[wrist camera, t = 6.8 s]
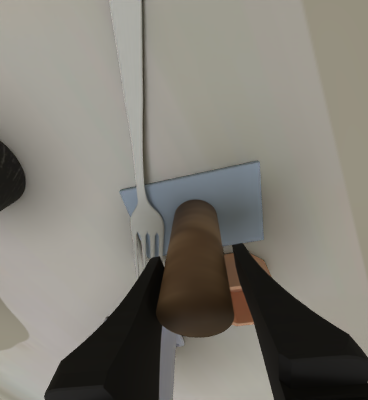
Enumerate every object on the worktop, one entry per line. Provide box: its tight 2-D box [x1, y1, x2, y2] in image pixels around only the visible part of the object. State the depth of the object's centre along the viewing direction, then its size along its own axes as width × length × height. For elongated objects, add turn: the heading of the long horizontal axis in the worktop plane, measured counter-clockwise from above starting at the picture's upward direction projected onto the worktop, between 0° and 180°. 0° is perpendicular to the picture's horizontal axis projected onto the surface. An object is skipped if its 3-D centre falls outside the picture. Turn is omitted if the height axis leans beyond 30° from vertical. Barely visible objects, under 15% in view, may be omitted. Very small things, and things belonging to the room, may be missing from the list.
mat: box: [119, 161, 264, 258], centre depth 18 cm, size 12×8×1 cm, turn 103°
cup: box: [224, 253, 271, 326], centre depth 20 cm, size 6×6×4 cm
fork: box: [109, 0, 164, 280], centre depth 14 cm, size 3×24×2 cm, turn 0°
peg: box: [156, 200, 234, 337], centre depth 14 cm, size 4×4×9 cm
